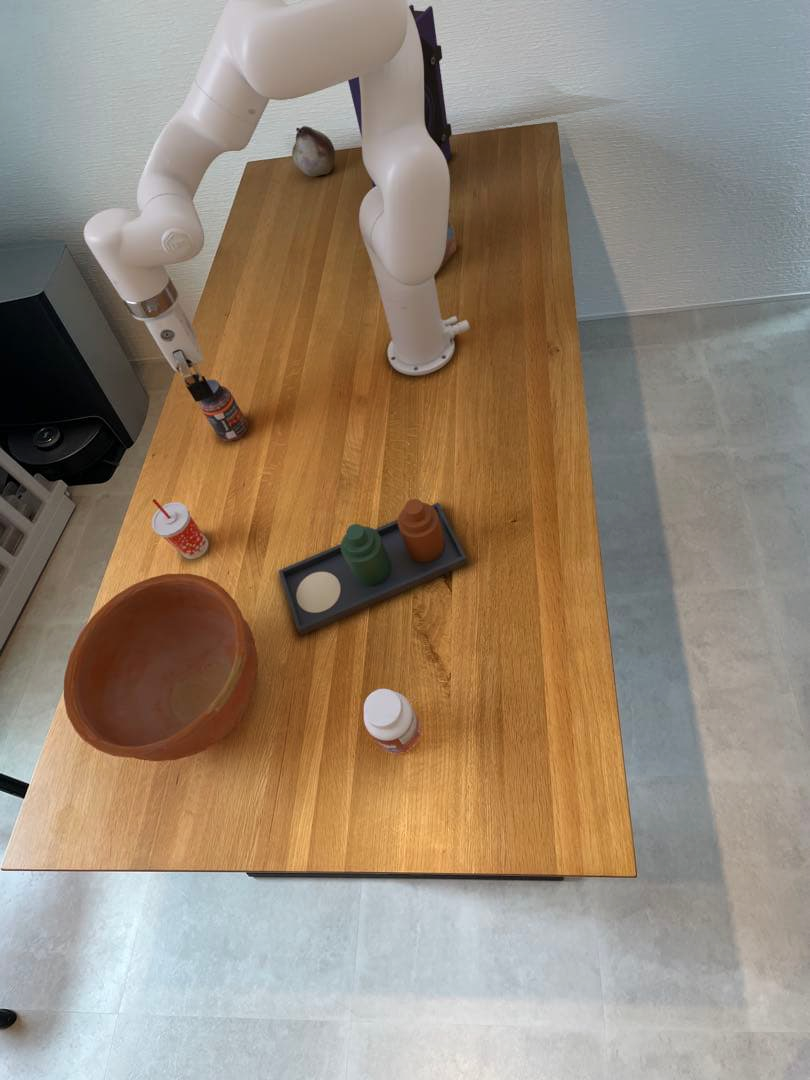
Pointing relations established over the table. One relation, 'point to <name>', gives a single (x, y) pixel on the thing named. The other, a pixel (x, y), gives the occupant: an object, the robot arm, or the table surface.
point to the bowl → (161, 670)
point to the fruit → (313, 152)
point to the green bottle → (366, 555)
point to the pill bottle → (391, 721)
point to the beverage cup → (179, 529)
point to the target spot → (318, 592)
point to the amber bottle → (421, 531)
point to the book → (432, 84)
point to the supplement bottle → (223, 413)
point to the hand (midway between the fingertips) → (199, 378)
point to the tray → (360, 596)
